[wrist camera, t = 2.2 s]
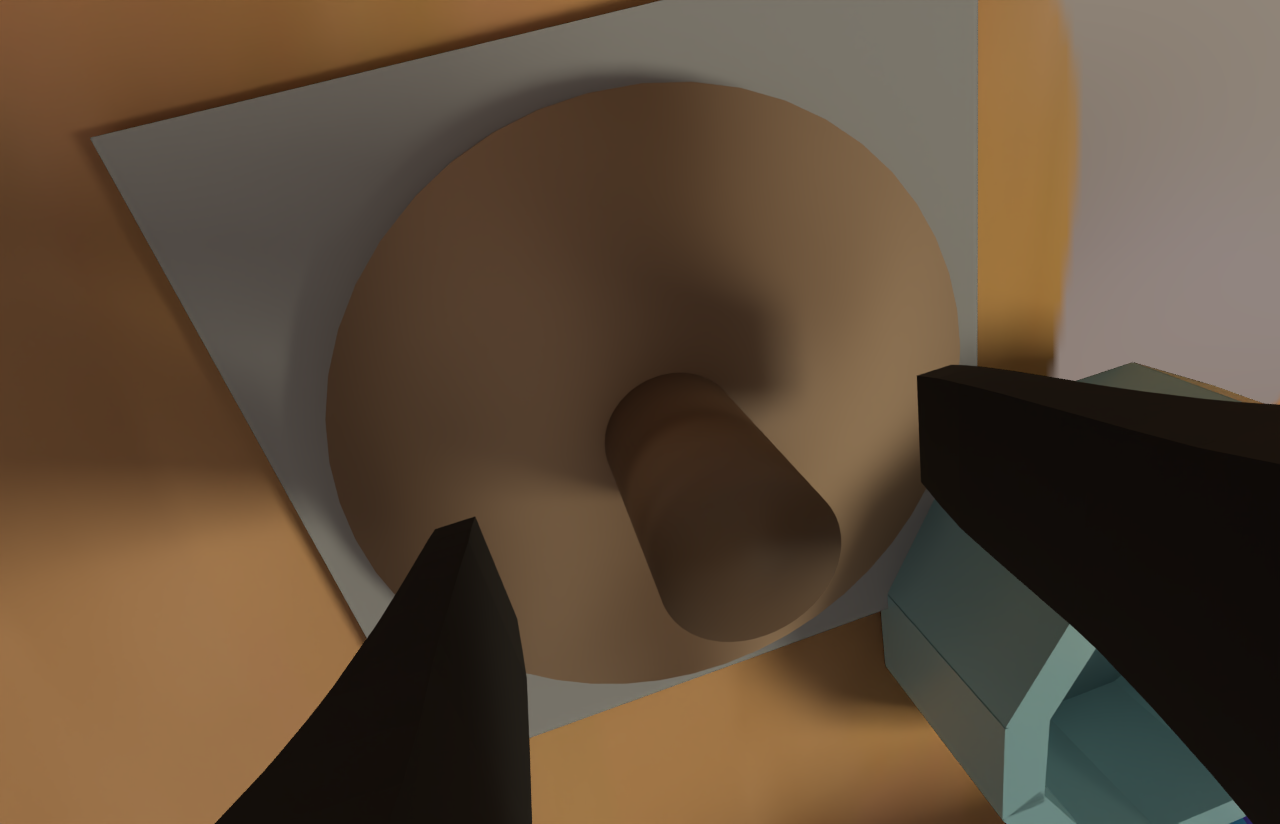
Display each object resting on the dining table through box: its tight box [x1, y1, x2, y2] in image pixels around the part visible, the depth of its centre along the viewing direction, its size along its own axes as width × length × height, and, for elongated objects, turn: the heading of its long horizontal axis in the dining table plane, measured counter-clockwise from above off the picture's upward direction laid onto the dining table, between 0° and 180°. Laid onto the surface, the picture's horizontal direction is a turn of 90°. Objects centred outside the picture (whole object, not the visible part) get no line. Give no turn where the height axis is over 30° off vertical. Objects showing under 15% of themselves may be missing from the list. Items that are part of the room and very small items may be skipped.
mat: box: [90, 0, 978, 738], centre depth 13 cm, size 14×14×1 cm
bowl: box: [881, 363, 1264, 824], centre depth 16 cm, size 11×11×4 cm
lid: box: [325, 82, 960, 684], centre depth 11 cm, size 12×12×5 cm
